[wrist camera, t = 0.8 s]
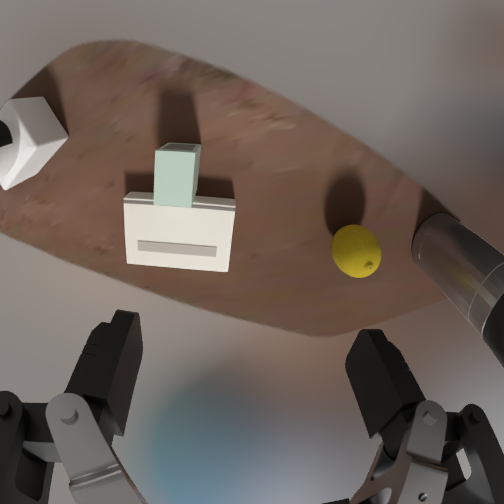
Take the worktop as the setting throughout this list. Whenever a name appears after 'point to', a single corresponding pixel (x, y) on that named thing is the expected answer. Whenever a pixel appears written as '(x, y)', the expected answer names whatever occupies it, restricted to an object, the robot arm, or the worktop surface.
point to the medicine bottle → (27, 138)
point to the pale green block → (176, 174)
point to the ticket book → (179, 232)
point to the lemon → (356, 251)
